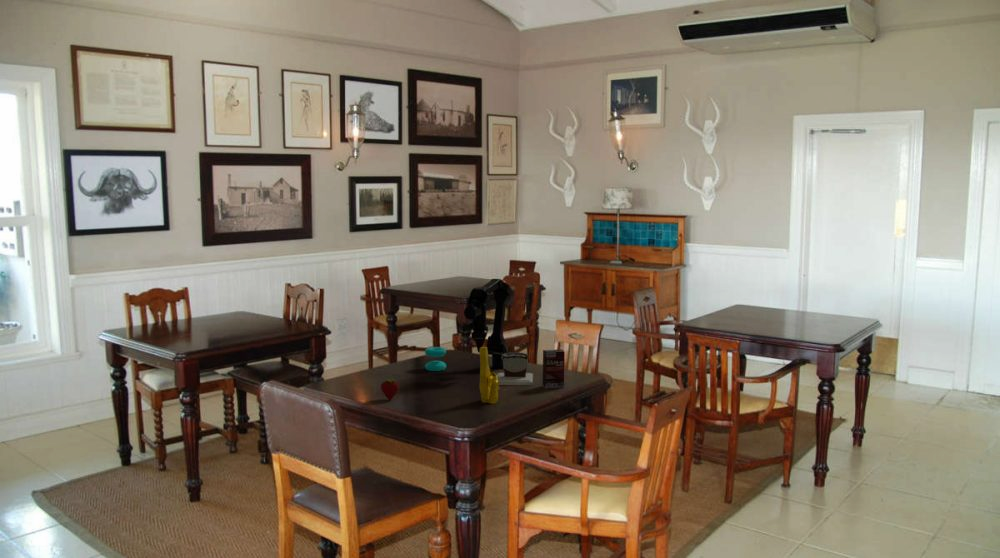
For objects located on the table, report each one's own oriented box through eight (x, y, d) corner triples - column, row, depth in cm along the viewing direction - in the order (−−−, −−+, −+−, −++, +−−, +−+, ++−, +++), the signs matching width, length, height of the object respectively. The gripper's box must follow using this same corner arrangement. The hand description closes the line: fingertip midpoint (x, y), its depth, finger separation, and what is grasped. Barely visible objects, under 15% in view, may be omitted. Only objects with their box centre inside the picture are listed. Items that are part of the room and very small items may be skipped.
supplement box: (545, 388, 335) (545, 352, 333) (542, 386, 340) (542, 349, 338) (564, 387, 337) (565, 351, 335) (561, 385, 341) (561, 348, 340)
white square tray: (497, 376, 357) (497, 372, 357) (533, 376, 356) (533, 372, 356) (495, 385, 341) (495, 380, 341) (532, 385, 341) (532, 380, 340)
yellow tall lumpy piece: (492, 408, 305) (492, 352, 303) (473, 406, 307) (473, 351, 305) (503, 396, 322) (503, 343, 320) (485, 395, 324) (485, 342, 322)
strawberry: (385, 397, 322) (384, 373, 321) (401, 398, 319) (401, 374, 318) (378, 400, 316) (377, 376, 315) (395, 402, 314) (394, 377, 313)
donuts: (443, 350, 365) (422, 350, 366) (443, 372, 366) (422, 371, 368) (448, 346, 375) (427, 346, 376) (448, 367, 376) (427, 366, 377)
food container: (529, 374, 353) (529, 352, 352) (529, 377, 347) (529, 355, 346) (501, 373, 353) (501, 351, 352) (501, 377, 347) (501, 354, 346)
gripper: (464, 312, 364) (464, 346, 366) (459, 319, 346) (460, 354, 348) (488, 312, 364) (488, 346, 365) (485, 319, 345) (485, 354, 347)
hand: (480, 350), depth 356 cm, fingers open, 9 cm apart
